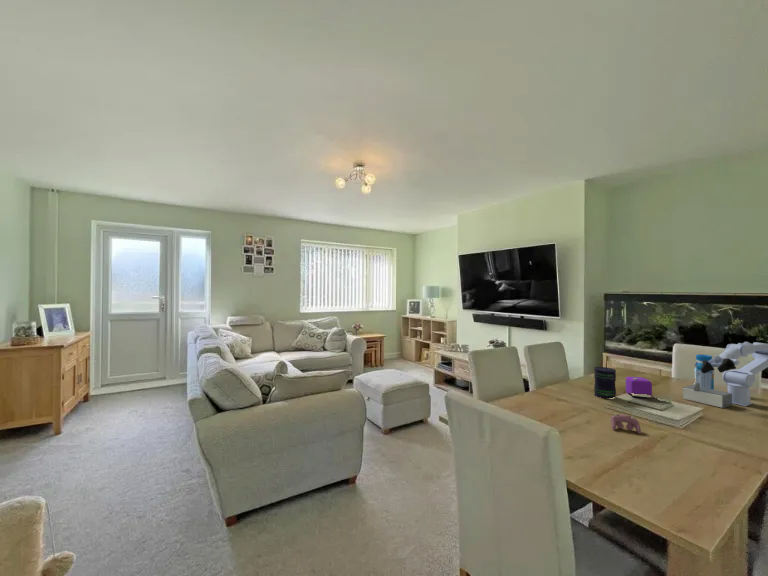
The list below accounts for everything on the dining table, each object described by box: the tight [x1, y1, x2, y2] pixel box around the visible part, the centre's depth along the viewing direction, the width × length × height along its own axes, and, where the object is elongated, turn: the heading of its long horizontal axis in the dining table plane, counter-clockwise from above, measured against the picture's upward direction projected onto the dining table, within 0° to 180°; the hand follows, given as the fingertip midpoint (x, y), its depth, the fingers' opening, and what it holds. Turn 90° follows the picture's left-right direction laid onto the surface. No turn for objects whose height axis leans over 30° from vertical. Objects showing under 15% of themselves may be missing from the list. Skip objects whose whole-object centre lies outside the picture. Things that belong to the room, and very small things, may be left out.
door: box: [682, 381, 725, 409], centre depth 168 cm, size 2×16×10 cm, turn 26°
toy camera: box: [625, 376, 653, 396], centre depth 181 cm, size 11×14×10 cm
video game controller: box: [610, 413, 642, 435], centre depth 136 cm, size 10×5×7 cm, turn 65°
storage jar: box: [593, 366, 617, 399], centre depth 178 cm, size 10×10×15 cm
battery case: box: [682, 384, 733, 409], centre depth 171 cm, size 9×16×6 cm, turn 26°
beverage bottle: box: [693, 353, 715, 390], centre depth 191 cm, size 8×8×20 cm
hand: (710, 371), depth 162 cm, fingers open, 7 cm apart
